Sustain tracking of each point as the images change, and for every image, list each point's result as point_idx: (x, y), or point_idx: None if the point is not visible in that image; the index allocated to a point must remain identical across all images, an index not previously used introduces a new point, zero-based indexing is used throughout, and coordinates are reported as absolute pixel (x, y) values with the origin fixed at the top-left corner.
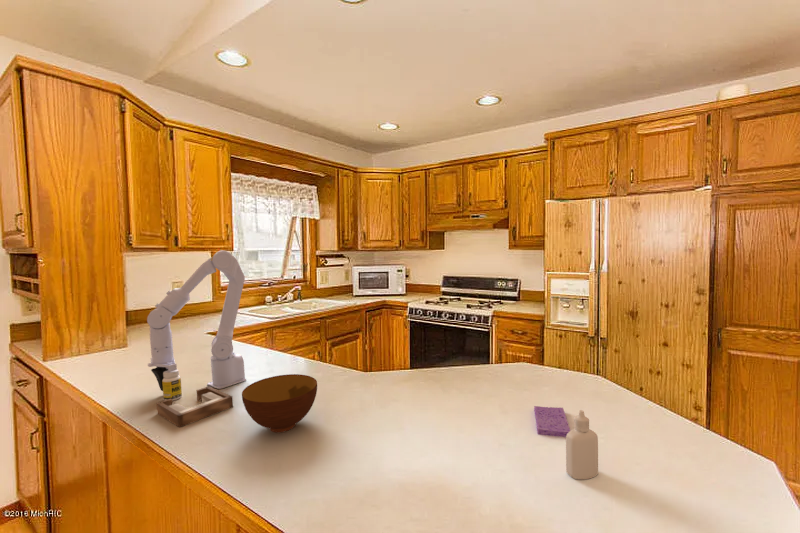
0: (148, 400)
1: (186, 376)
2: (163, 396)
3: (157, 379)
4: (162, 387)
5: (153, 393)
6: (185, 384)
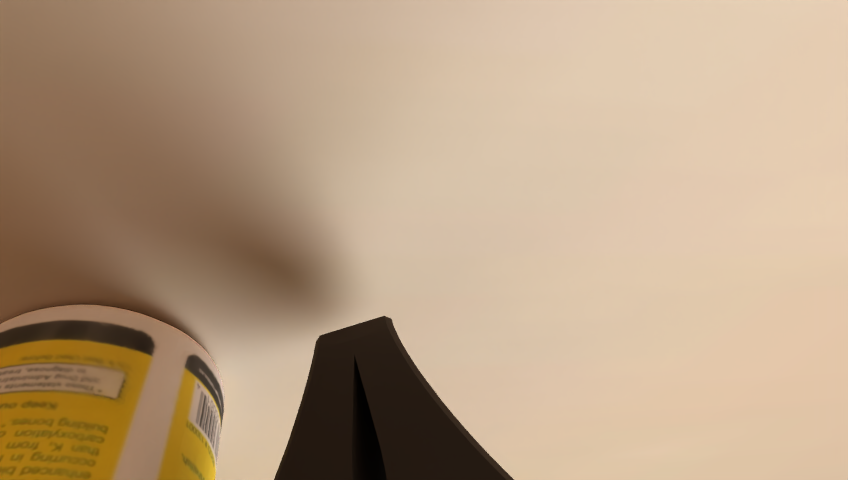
0: (250, 98)
1: (764, 441)
2: (22, 348)
3: (433, 471)
4: (307, 390)
5: (547, 179)
6: (542, 454)
